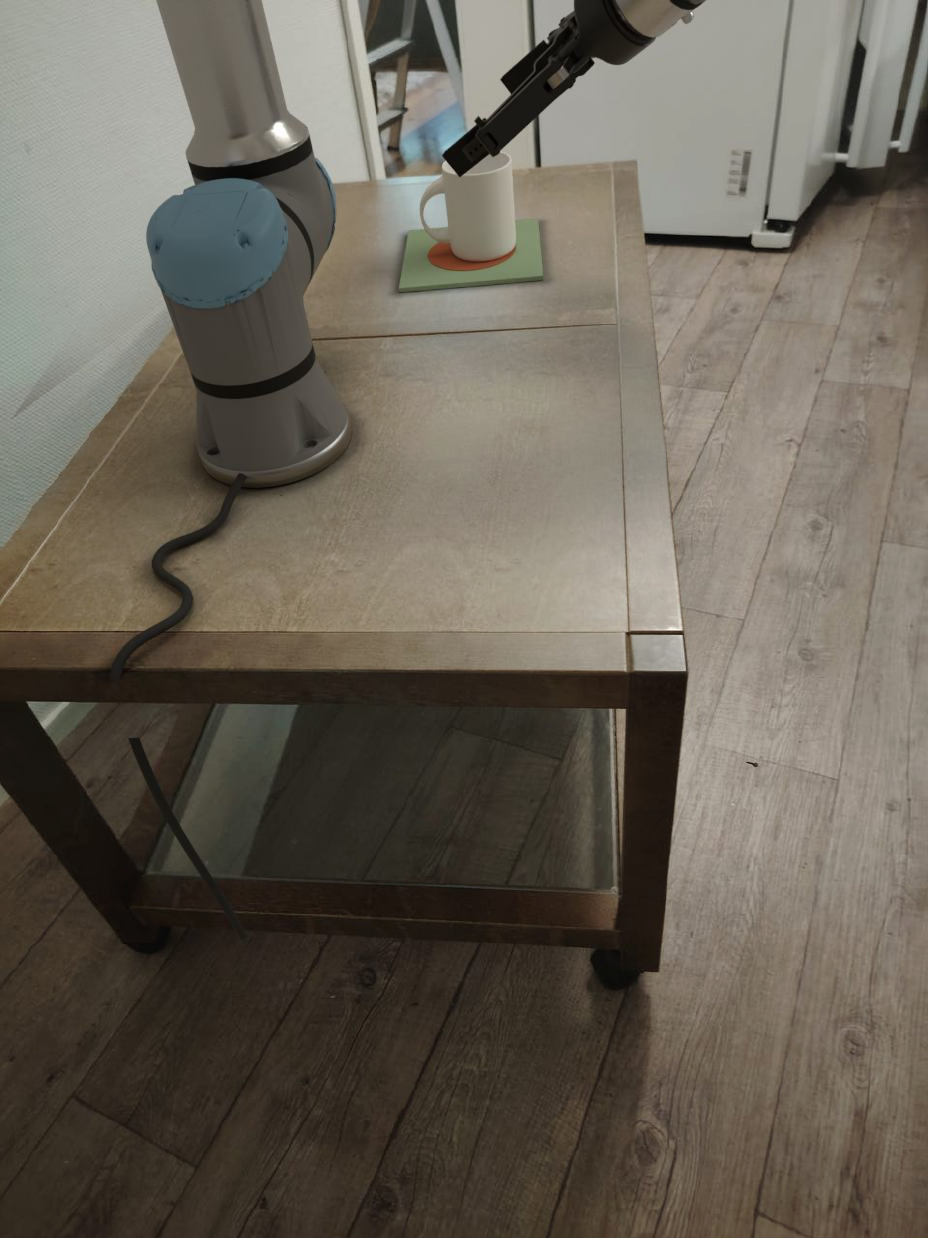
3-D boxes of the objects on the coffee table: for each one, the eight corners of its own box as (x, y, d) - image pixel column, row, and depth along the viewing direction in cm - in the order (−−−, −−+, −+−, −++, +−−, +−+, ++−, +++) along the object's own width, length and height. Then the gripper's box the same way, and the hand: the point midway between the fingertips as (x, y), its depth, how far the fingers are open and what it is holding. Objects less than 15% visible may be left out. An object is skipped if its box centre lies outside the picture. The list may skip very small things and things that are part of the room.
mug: (424, 243, 120) (413, 158, 112) (513, 232, 120) (508, 145, 112) (426, 270, 114) (414, 182, 106) (520, 258, 114) (514, 169, 106)
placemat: (543, 280, 110) (543, 274, 110) (399, 292, 112) (398, 287, 111) (538, 222, 123) (538, 217, 122) (408, 234, 124) (408, 229, 124)
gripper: (605, 118, 72) (452, 228, 89) (708, -38, 82) (553, 88, 99) (547, 36, 69) (399, 167, 86) (662, -116, 79) (509, 28, 96)
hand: (481, 125), depth 93 cm, fingers open, 13 cm apart
